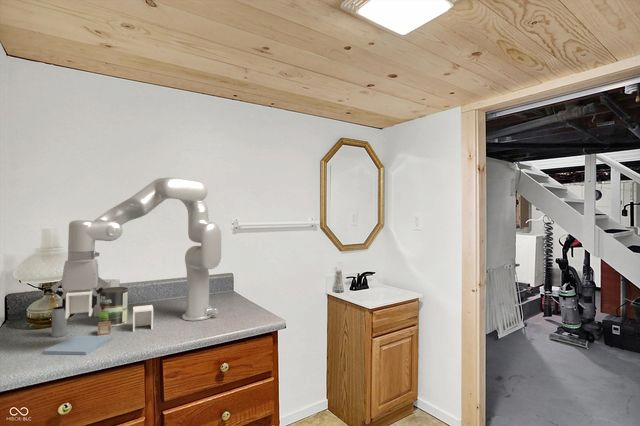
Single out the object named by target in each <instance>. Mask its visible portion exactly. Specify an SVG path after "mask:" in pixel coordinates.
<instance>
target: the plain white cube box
mask: <svg viewBox="0 0 640 426" xmlns="http://www.w3.org/2000/svg"><path fill="white" fill-rule="evenodd" d="M142 326H143V327H144V326H150V330H154V307H153V304H148V305H137V306H133V307H132V332H133V333H135V331H136V330H135V328H137V327H142Z"/></svg>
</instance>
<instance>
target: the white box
mask: <svg viewBox="0 0 640 426" xmlns="http://www.w3.org/2000/svg"><path fill="white" fill-rule="evenodd" d="M92 296H93V294H92V291H91V290H90V289H88V290H73V291H69V293H67V294H66V315H65V319H67V320H68V319H69V317H70V315H71V314H81V313H88V317H92V315H93V313H94V308H92Z"/></svg>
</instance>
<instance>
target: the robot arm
mask: <svg viewBox="0 0 640 426" xmlns="http://www.w3.org/2000/svg"><path fill="white" fill-rule="evenodd" d="M208 193H209V191H208V187H207V186H206V185H205V183H203V182H201V181H199V180H192V179H185V178H180V177H171V176H170V177H160V178H156V179H154V180H153V181H151V182H150V183H149V184H147V185H146V186H145V187H143V188H142V189H141V190H139V191H138V192H136V193H135V194H133V195H132V196H131V197H129V198H127V199H126V200H124V201H122V202H121V203H118V204H116V206H113V207H111V208H110V209H109V210H107V211H105V212H104V213H103V214H101V215H100V216H98V217H97V218H96V219H94V220H86V219H85V220H81V219H80V220H71V221H70V222H69V224H68V240H67V241H68V242H67V243H68V245H67V260H65V261H64V265H63V270H62V276H61V277H62V278H61V279H60V280H59V281H57V282H56V283H55V284H53V285H52V286H51V287H50V290H51V291H52V292H54V293H55V294H56V296H58V297H60V298H61V301H62V302H61V306H62V308H64V311H66V294H67V293H69V291H73V290H88V289H90V290H91V291H92V294H93V296H92V308H93V309H94V307H95V305H97V295H98V294H99V293H100V292H102V291H103V289H104V288H105V287H106V286H107V285H108V283H107V282H106V281H104V280H103V279H104V278H103V279H102V278H101V277H100V276H99V274H100V273H99V264H98V260H97V259H95V258H98V257H100V252H96V250H95V249H96V248H95V246H96V245H95V244H96V241H102V242H103V241H104V242H112V241H116V240H118V239H119V238H120V237H121V236H122V234H123V227H122V226H123V225H124V224H127V223H128V222H130V221H133V220H136V219H139V218H142V217H145V216H147V215H148V214H149V213H150V212H152V211H153V210H154V209H155V208H157V207H158V206H159V205H161V204H162V203H163V202H164V201H166V200H169V199H173V200H179V201H180V202H182V203H183V204H184V206H185V207H186V210H187V217H188V219H187V221H188V223H187V225H188V226H187V227H188V228H187V233H188V234H187V235H188V238H189V239H188V240H190V241H191V242H192V243H195V244H196V243H197V244H200V245H194V246H191V247H189V248H188V249H187V250H186V252H185V254H184V262H185V268H186V293H185V294H186V296H185V297H186V299H185V300H186V302H185V303H186V307H185V310H186V311H185V312H184V313H183V314H182V315H181V316H182V319H183V320H184V321H193V322H194V321H203V320H204V321H205V320H207V319H210V318H212V317H213V315H217V314H219V309H218V308H216V307H214V308H212V306H211V304H210V273H209V271H210V270H214V269H215V268H217V267H218V266H219V264H220V263H221V259H222V231H221V229H220V226H219V225H218V224H217V223H215V222H212V221H209V208H208V205H207V203H206V201H205V199H206V198H207V197H208ZM98 282H99V283H101V284H102V286H101V287H100V288H99V289H98V290H97V289H96V287H97V285H98ZM60 286H61V289H62V290H63V291H62V290H61V289H60V288H59V287H60Z"/></svg>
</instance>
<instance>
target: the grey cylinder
mask: <svg viewBox="0 0 640 426" xmlns="http://www.w3.org/2000/svg"><path fill="white" fill-rule="evenodd" d="M51 309H52V310H51V337H52V338H60V337H64V336H66V335H67V334H68V319H65V315H66V311H64V308H62V305H60V306H54V307H52V308H51Z"/></svg>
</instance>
